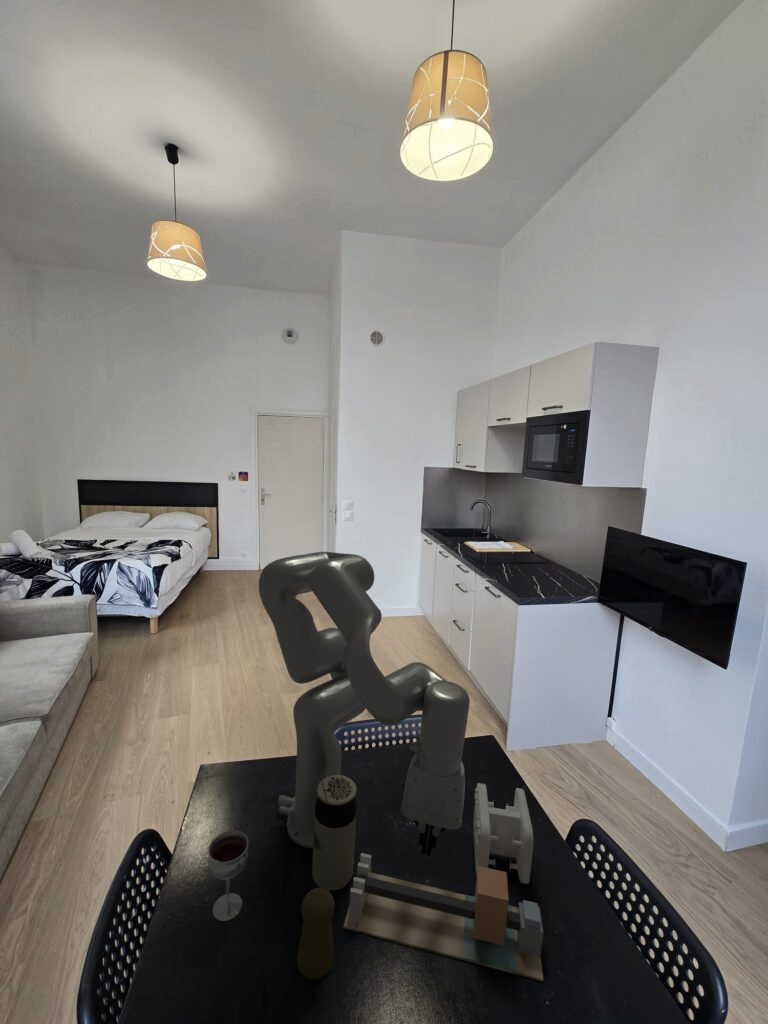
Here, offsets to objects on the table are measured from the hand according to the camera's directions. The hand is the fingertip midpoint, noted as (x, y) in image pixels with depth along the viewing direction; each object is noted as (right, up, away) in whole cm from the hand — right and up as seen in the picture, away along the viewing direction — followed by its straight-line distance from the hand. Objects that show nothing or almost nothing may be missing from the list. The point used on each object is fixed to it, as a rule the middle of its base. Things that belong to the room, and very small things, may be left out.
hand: (426, 848), depth 80 cm
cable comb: (-12, -12, +3) cm, 17 cm away
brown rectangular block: (+11, -13, -1) cm, 17 cm away
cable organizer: (+16, -13, +14) cm, 25 cm away
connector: (+17, -14, -2) cm, 22 cm away
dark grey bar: (+2, -10, 0) cm, 11 cm away
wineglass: (-35, -11, +1) cm, 37 cm away
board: (+3, -13, 0) cm, 13 cm away
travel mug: (-18, -11, +8) cm, 22 cm away
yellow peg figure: (-19, -13, -7) cm, 24 cm away
